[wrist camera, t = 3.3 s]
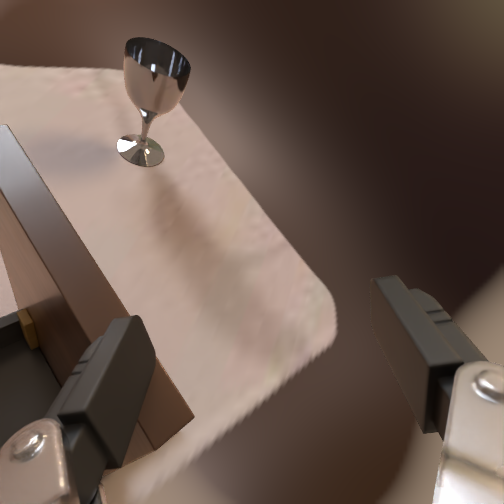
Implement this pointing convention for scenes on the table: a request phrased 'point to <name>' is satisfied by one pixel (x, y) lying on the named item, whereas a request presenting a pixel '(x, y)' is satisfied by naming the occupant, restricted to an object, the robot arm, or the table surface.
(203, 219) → the table surface
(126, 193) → the table surface
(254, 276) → the table surface
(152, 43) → the wine glass
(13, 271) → the wooden backboard stand
